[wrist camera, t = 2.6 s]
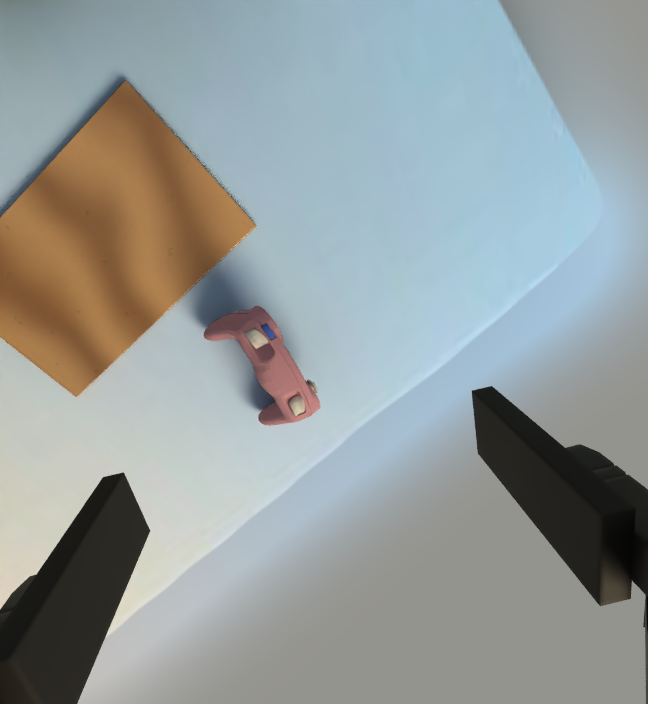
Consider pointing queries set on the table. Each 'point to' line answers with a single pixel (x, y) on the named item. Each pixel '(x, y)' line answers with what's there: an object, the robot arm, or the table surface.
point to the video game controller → (269, 364)
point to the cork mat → (109, 241)
